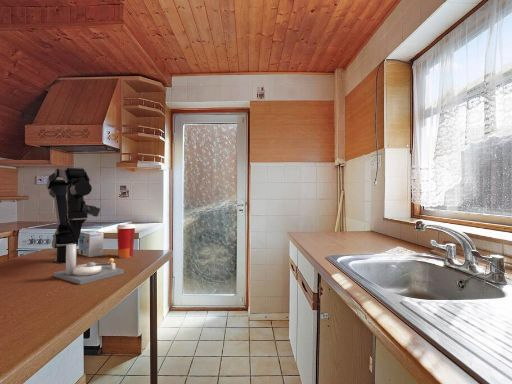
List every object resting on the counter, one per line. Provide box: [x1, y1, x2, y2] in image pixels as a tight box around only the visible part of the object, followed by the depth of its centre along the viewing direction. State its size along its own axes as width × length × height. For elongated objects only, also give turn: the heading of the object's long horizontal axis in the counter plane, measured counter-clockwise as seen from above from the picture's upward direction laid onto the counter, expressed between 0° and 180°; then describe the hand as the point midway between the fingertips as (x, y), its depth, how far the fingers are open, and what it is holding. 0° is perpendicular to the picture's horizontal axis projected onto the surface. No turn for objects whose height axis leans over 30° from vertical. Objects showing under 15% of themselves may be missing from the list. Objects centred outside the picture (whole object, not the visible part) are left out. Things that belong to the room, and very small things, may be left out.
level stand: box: [53, 257, 125, 285], centre depth 107 cm, size 16×16×5 cm
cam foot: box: [65, 243, 111, 276], centre depth 105 cm, size 14×9×10 cm, turn 116°
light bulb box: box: [78, 229, 105, 258], centre depth 141 cm, size 11×7×11 cm, turn 54°
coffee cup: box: [116, 223, 137, 259], centre depth 137 cm, size 8×8×15 cm
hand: (76, 238), depth 115 cm, fingers open, 9 cm apart
